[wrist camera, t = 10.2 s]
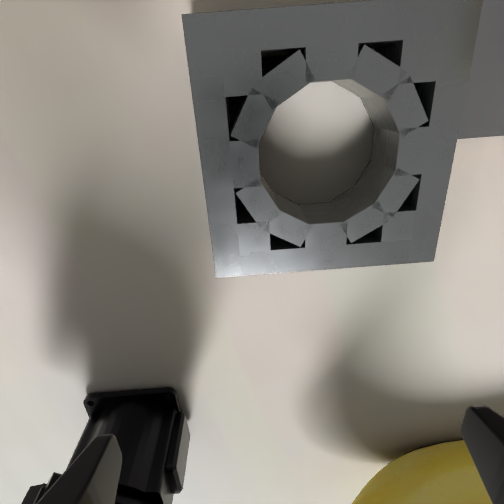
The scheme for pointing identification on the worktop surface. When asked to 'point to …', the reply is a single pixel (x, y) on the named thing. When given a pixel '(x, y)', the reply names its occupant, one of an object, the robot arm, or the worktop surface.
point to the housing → (377, 106)
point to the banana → (428, 478)
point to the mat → (486, 77)
